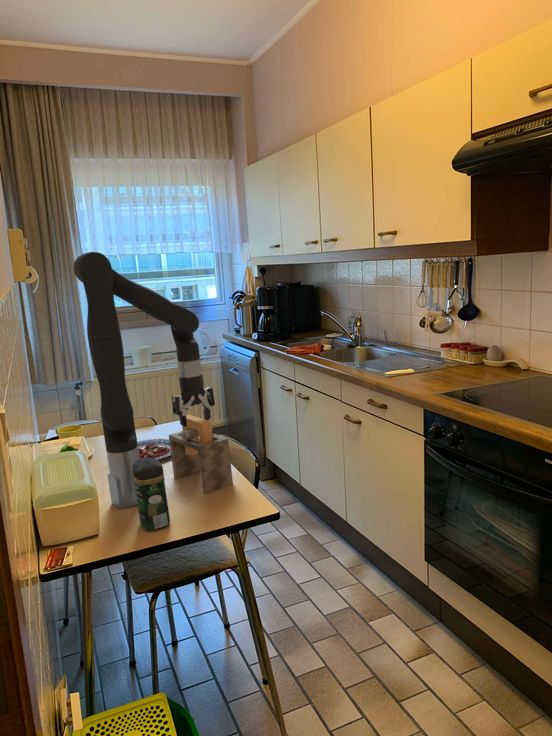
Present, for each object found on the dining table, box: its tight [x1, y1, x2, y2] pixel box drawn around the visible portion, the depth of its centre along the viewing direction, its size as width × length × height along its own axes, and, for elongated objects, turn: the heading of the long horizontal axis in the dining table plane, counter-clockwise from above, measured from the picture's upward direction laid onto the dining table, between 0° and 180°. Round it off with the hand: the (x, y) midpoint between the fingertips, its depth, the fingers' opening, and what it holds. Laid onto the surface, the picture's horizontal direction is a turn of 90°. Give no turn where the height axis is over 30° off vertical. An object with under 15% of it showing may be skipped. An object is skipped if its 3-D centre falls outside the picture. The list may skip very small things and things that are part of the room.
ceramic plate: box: [137, 438, 171, 461], centre depth 214 cm, size 26×26×3 cm
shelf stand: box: [168, 425, 234, 494], centre depth 183 cm, size 10×20×18 cm, turn 40°
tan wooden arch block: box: [181, 414, 213, 456], centre depth 182 cm, size 3×13×13 cm, turn 40°
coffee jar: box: [133, 457, 171, 531], centre depth 155 cm, size 10×8×19 cm
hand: (196, 423), depth 181 cm, fingers open, 8 cm apart
